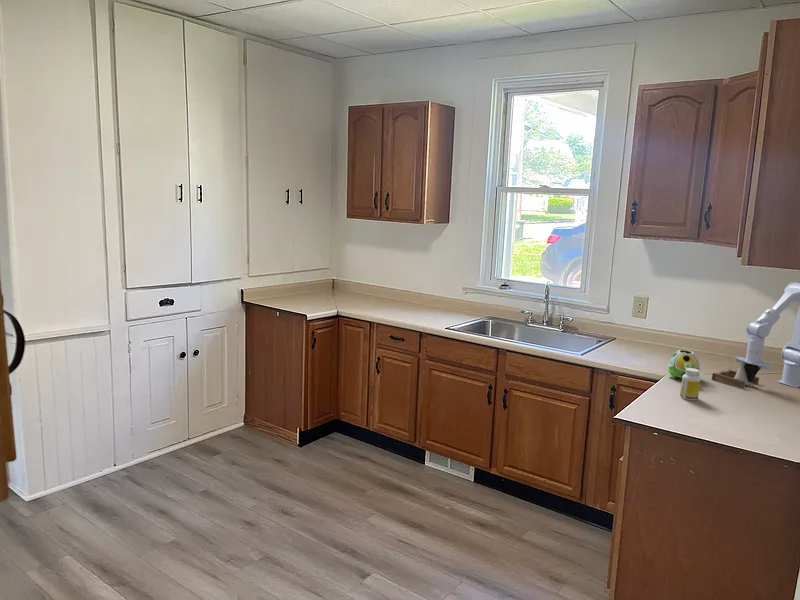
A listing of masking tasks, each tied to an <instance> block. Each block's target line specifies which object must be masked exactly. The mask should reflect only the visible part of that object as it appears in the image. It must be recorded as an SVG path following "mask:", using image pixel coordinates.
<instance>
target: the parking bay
mask: <svg viewBox="0 0 800 600" xmlns="http://www.w3.org/2000/svg"><path fill="white" fill-rule="evenodd" d="M737 371H738V370H733V369H730V368H729V369H728V368H727V369H725V370H721V371H717V372H713V373H712V375H711V381H714V382H718V383H722V384H725V385H729V386H732V387H736V388H738V389H742V390H743V389H745V385H744V384H745V381H742V380H739V379H735V378H734V377H735V375H736V373H737ZM759 380H760V377H759V376H755V377H754V379H753V382H751V383H752V384H751V385H755V386H757V385H759Z"/></svg>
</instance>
